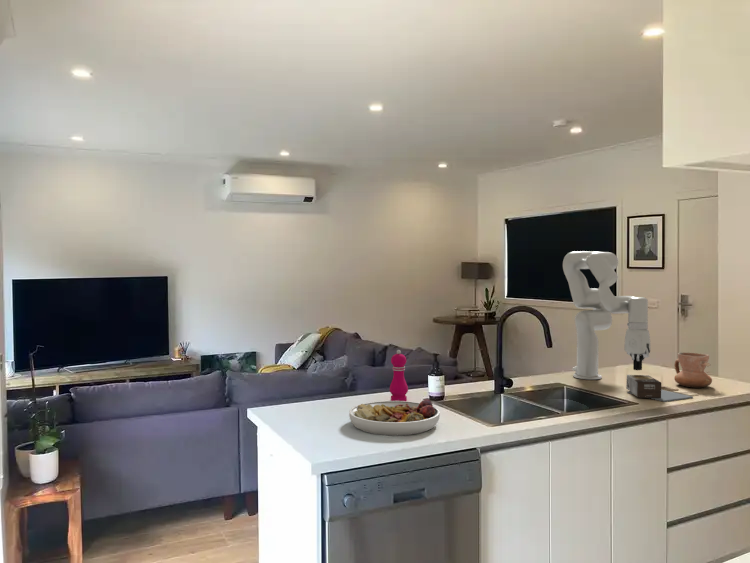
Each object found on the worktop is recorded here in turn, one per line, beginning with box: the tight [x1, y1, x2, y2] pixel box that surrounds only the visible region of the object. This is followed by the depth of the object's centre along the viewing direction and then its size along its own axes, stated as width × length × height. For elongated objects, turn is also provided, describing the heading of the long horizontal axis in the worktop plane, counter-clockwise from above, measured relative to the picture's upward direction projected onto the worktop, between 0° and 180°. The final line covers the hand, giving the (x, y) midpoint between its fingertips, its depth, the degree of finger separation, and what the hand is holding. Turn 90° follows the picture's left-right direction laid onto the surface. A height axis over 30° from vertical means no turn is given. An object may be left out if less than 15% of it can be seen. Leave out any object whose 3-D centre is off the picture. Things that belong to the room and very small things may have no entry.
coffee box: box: [626, 374, 662, 399], centre depth 243 cm, size 9×6×16 cm
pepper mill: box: [389, 349, 409, 401], centre depth 234 cm, size 7×7×20 cm
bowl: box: [348, 398, 441, 437], centre depth 199 cm, size 30×30×8 cm
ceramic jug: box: [674, 351, 713, 389], centre depth 261 cm, size 18×14×14 cm
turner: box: [661, 384, 699, 397], centre depth 251 cm, size 20×5×1 cm, turn 24°
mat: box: [626, 389, 694, 403], centre depth 242 cm, size 18×16×1 cm
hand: (637, 369), depth 252 cm, fingers closed
